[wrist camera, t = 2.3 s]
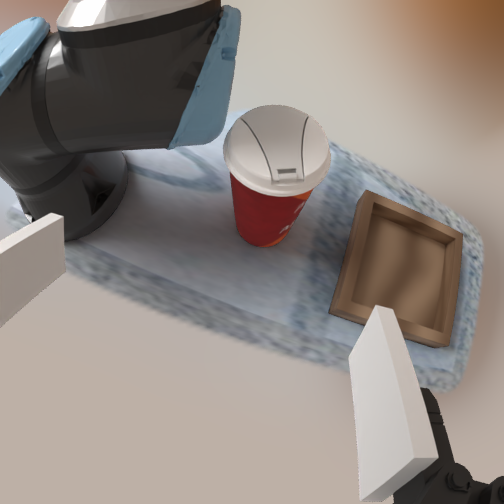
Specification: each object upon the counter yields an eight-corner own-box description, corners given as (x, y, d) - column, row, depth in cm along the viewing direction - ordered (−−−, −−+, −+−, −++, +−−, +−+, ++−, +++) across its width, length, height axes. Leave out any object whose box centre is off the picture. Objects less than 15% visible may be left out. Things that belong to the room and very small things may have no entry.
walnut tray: (328, 313, 33) (336, 308, 31) (357, 201, 38) (366, 189, 35) (434, 348, 32) (448, 345, 30) (450, 242, 37) (462, 233, 34)
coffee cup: (304, 253, 35) (348, 183, 21) (229, 261, 35) (227, 190, 21) (291, 187, 38) (320, 98, 24) (223, 192, 37) (219, 100, 23)
